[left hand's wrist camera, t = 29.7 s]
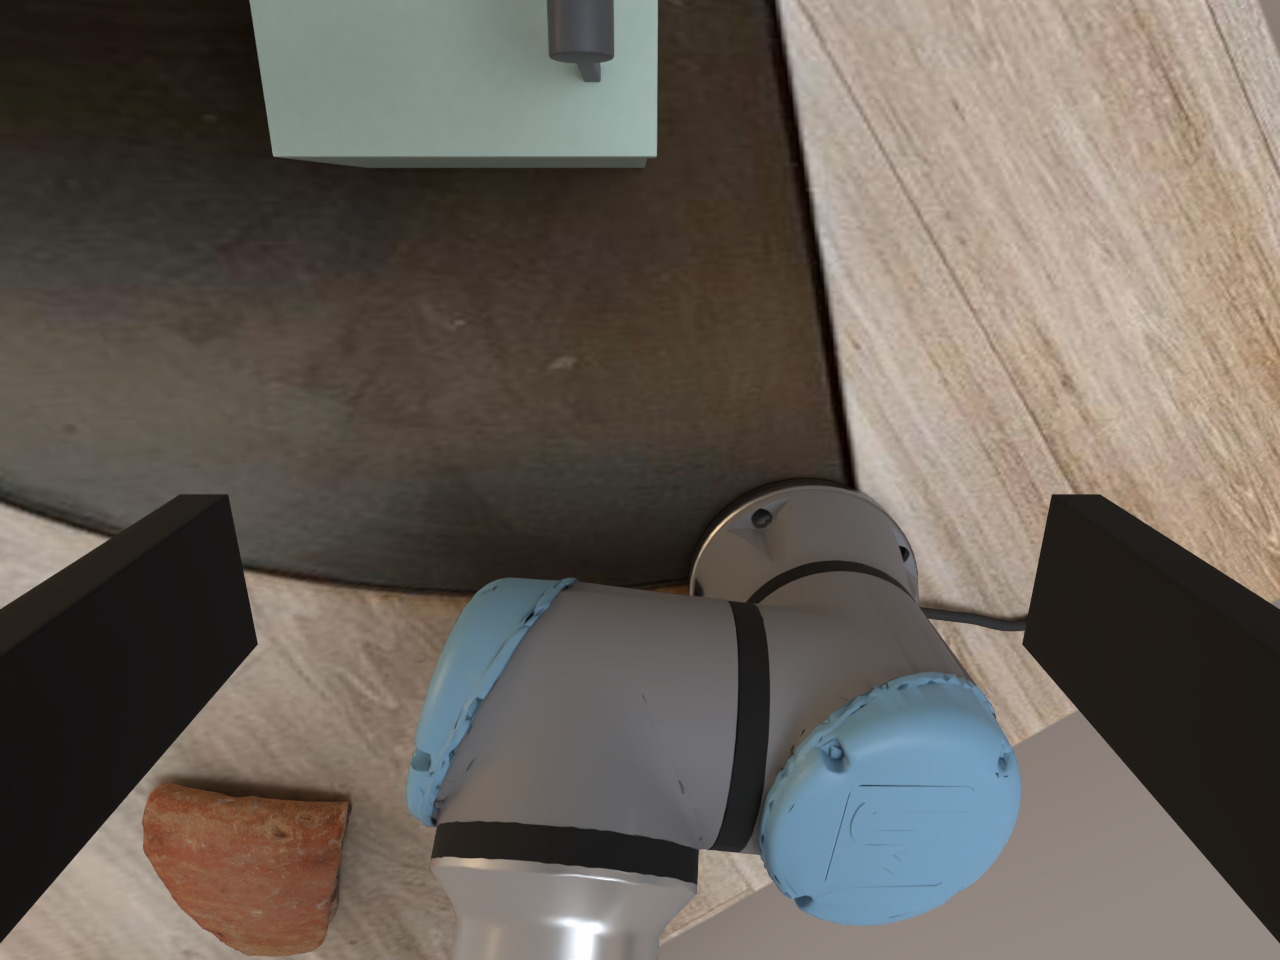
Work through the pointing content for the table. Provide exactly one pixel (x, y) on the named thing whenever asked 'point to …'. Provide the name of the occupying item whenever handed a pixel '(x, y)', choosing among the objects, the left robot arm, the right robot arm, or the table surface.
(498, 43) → the lid
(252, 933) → the ceramic shard
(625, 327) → the table surface
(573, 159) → the chest
